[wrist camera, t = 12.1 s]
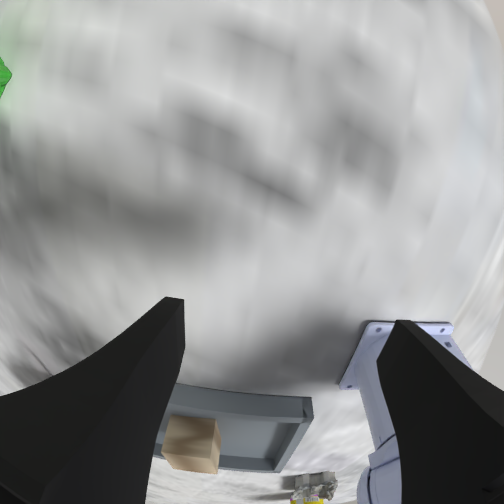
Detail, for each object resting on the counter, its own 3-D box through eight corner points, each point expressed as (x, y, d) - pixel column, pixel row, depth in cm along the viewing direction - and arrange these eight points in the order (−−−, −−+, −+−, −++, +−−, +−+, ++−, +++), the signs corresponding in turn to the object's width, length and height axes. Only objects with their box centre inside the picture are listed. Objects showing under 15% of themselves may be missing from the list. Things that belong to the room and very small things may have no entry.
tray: (311, 397, 24) (314, 417, 22) (279, 458, 31) (279, 473, 29) (110, 367, 24) (101, 385, 22) (137, 437, 31) (132, 451, 28)
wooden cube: (215, 419, 26) (210, 458, 21) (221, 439, 28) (217, 474, 23) (170, 414, 26) (160, 452, 21) (180, 435, 28) (173, 468, 23)
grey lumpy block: (329, 484, 38) (331, 501, 35) (291, 488, 39) (291, 505, 35) (339, 467, 34) (342, 488, 30) (294, 472, 34) (295, 493, 31)
